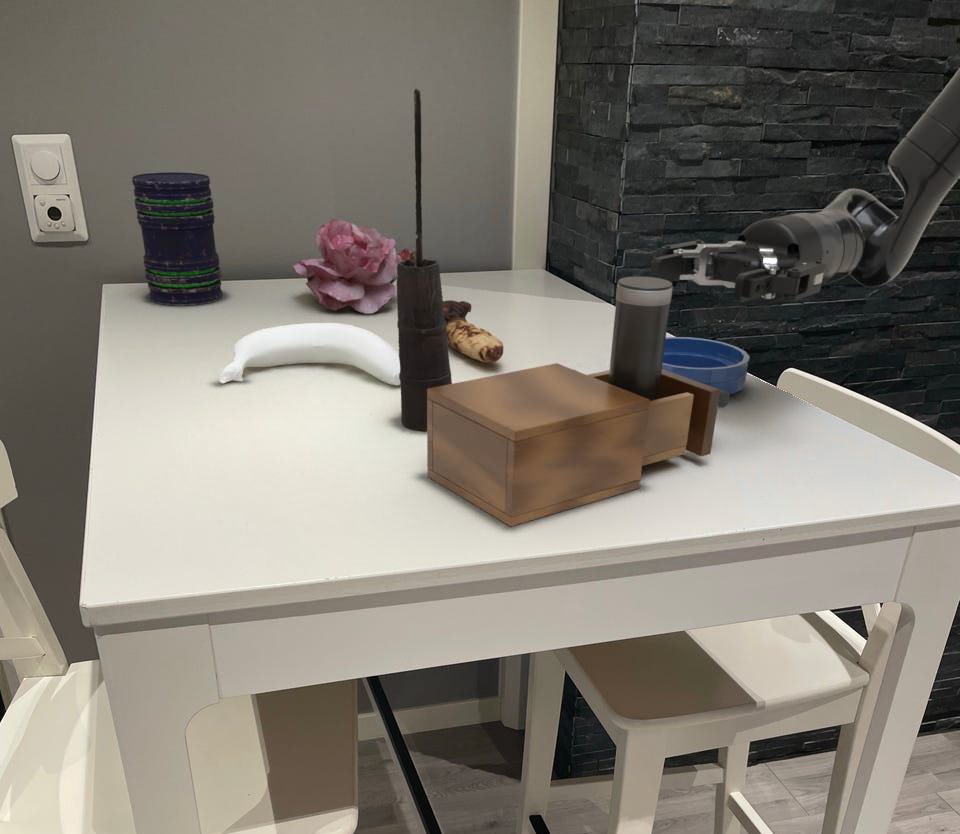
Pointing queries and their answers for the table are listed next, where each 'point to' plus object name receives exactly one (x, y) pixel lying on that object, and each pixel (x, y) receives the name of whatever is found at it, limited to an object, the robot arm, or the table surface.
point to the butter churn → (420, 317)
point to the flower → (352, 267)
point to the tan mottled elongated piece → (469, 334)
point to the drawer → (679, 417)
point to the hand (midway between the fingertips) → (695, 280)
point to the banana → (315, 350)
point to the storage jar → (178, 237)
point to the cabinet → (535, 441)
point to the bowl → (707, 362)
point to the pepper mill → (640, 334)
